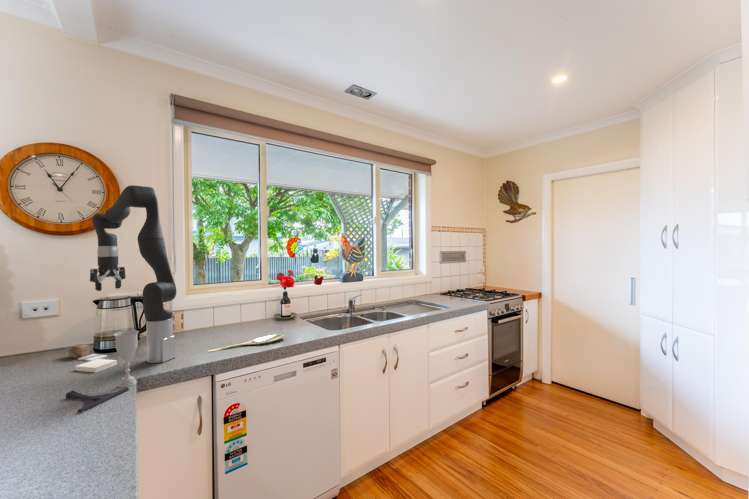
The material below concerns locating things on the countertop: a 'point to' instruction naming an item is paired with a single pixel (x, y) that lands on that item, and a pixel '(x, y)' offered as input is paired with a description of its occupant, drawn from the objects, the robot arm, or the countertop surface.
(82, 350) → the turner
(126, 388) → the bracket
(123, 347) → the chalice
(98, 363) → the tile
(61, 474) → the countertop surface
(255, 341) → the spoon
